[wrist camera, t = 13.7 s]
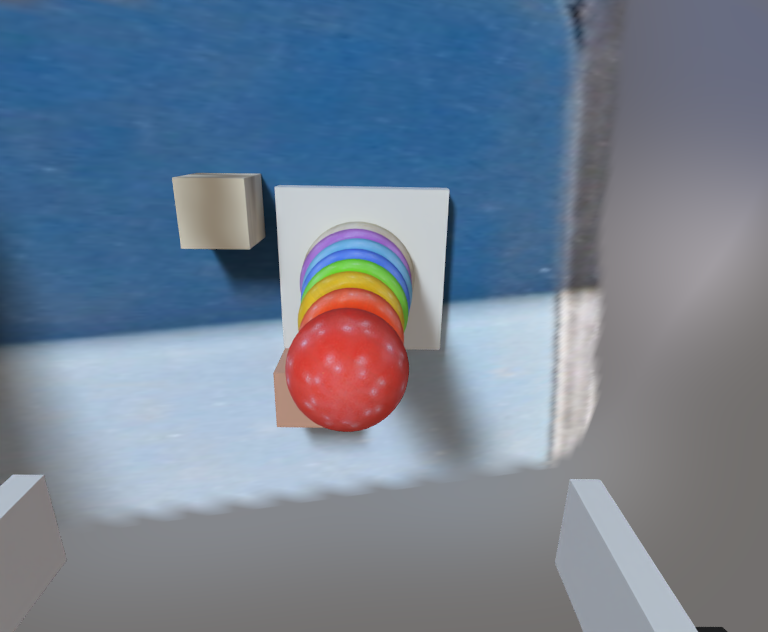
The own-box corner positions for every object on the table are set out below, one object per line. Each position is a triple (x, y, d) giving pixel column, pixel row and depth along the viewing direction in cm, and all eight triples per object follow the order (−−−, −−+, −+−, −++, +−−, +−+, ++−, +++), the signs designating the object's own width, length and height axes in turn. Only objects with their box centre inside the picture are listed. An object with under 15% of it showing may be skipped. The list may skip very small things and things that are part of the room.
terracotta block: (288, 397, 41) (277, 426, 37) (285, 347, 39) (273, 373, 35) (341, 398, 41) (336, 427, 37) (341, 348, 39) (336, 374, 35)
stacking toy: (402, 332, 37) (419, 507, 20) (298, 314, 37) (219, 478, 19) (424, 230, 34) (466, 327, 17) (311, 210, 34) (234, 286, 16)
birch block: (205, 235, 36) (181, 248, 32) (197, 173, 35) (171, 177, 30) (265, 236, 36) (249, 249, 32) (261, 173, 35) (243, 178, 31)
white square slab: (287, 340, 39) (283, 347, 38) (279, 185, 35) (274, 187, 33) (437, 342, 39) (439, 349, 38) (446, 187, 35) (449, 190, 34)
